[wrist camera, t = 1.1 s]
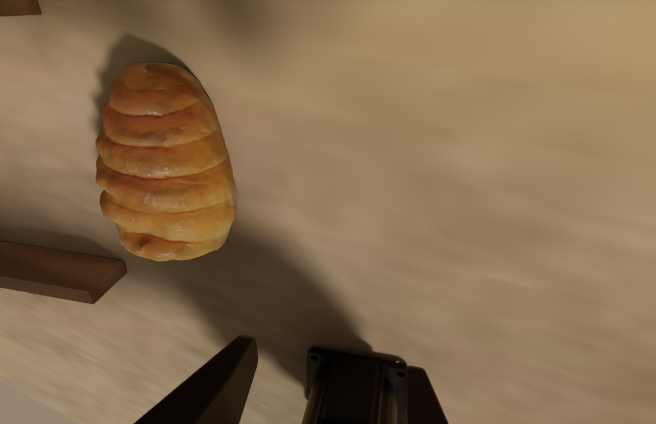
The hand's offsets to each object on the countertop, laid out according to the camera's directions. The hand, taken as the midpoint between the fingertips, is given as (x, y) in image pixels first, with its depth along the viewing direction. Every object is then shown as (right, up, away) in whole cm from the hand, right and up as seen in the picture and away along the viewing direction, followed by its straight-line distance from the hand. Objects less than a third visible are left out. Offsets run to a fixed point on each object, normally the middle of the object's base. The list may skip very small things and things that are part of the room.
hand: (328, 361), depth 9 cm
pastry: (-8, +6, +11) cm, 15 cm away
